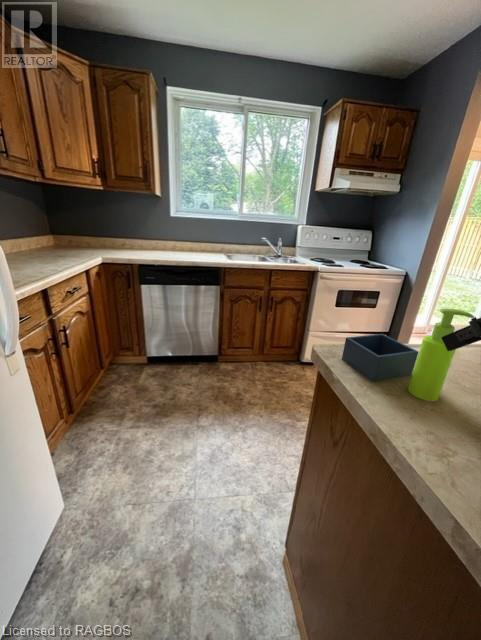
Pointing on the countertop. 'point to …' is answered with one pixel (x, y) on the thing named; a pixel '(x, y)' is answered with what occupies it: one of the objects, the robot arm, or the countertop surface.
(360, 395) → the countertop surface
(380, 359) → the box
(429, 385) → the soap dispenser
